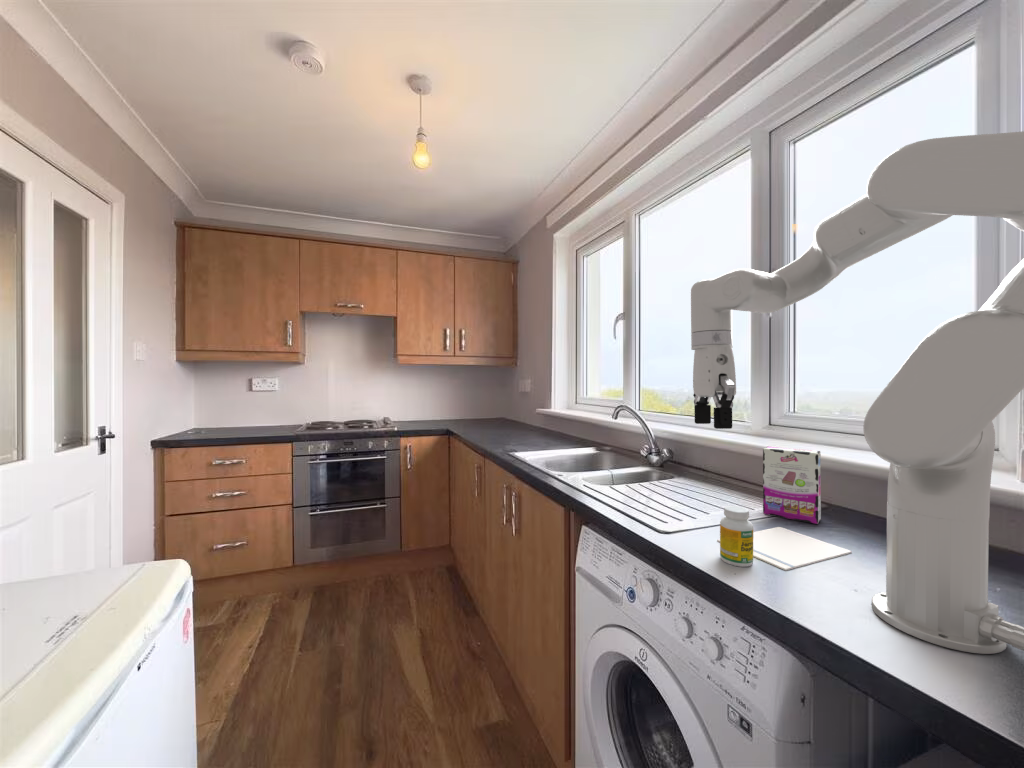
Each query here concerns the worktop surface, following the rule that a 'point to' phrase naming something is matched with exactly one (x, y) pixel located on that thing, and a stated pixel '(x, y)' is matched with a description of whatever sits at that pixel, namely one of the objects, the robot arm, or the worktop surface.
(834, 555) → the paper notebook
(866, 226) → the robot arm
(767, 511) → the candy bar box
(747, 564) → the supplement bottle
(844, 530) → the worktop surface
